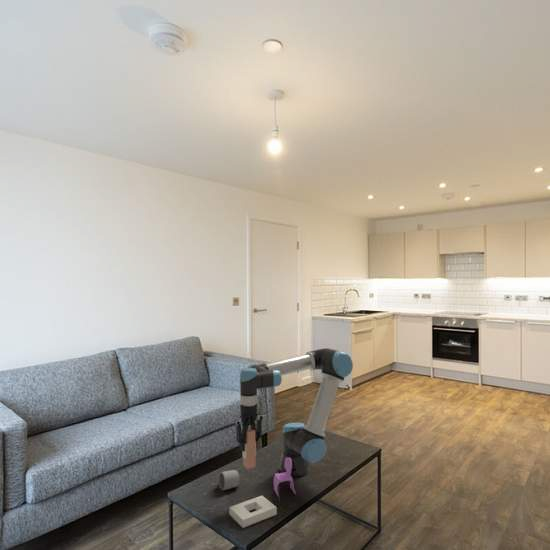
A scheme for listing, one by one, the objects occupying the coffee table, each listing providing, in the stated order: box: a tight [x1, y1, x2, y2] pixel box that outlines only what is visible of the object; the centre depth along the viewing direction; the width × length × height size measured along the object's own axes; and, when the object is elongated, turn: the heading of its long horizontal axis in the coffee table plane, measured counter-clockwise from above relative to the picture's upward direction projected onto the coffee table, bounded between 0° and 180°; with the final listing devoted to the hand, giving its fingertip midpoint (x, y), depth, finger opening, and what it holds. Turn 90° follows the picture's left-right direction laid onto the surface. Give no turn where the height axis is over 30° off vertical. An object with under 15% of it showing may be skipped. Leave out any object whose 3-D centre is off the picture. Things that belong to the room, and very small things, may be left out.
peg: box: [242, 427, 257, 470], centre depth 177 cm, size 4×4×16 cm
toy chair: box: [273, 457, 297, 498], centre depth 181 cm, size 8×9×15 cm
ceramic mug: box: [218, 469, 241, 491], centre depth 187 cm, size 11×8×8 cm
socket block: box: [228, 495, 278, 529], centre depth 163 cm, size 16×11×3 cm
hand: (249, 456), depth 177 cm, fingers closed on peg, 4 cm apart
